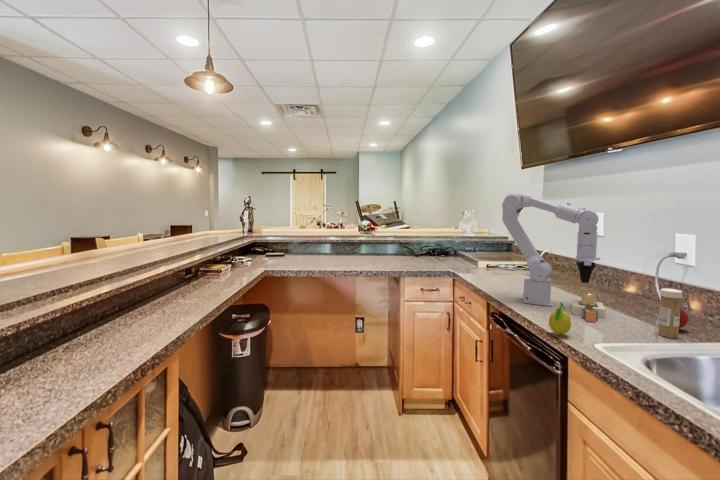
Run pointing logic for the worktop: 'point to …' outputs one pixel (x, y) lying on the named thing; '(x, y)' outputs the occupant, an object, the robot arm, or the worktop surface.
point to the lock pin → (590, 316)
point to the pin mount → (588, 310)
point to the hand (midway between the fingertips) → (584, 282)
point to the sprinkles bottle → (669, 312)
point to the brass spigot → (588, 300)
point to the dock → (578, 308)
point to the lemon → (560, 321)
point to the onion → (683, 318)
